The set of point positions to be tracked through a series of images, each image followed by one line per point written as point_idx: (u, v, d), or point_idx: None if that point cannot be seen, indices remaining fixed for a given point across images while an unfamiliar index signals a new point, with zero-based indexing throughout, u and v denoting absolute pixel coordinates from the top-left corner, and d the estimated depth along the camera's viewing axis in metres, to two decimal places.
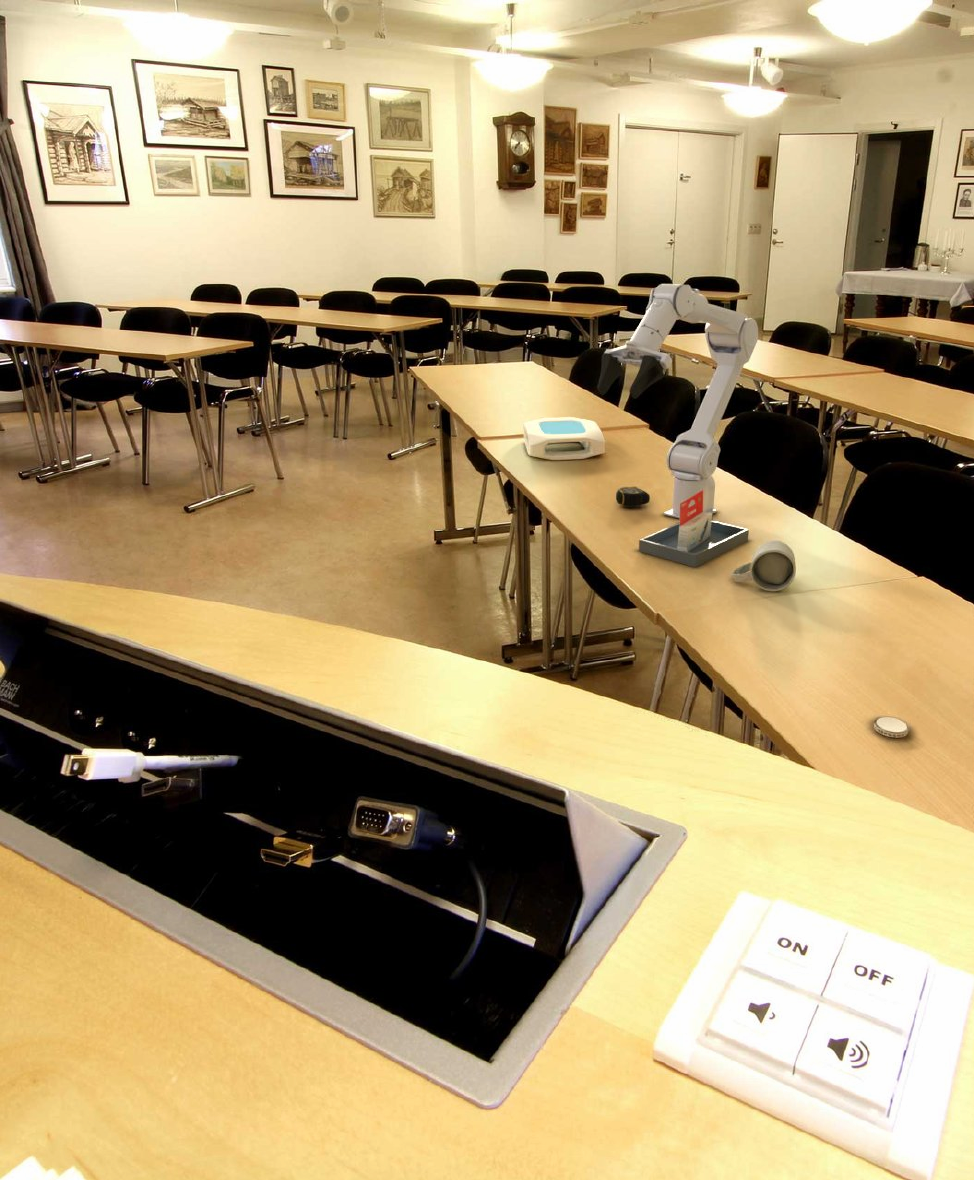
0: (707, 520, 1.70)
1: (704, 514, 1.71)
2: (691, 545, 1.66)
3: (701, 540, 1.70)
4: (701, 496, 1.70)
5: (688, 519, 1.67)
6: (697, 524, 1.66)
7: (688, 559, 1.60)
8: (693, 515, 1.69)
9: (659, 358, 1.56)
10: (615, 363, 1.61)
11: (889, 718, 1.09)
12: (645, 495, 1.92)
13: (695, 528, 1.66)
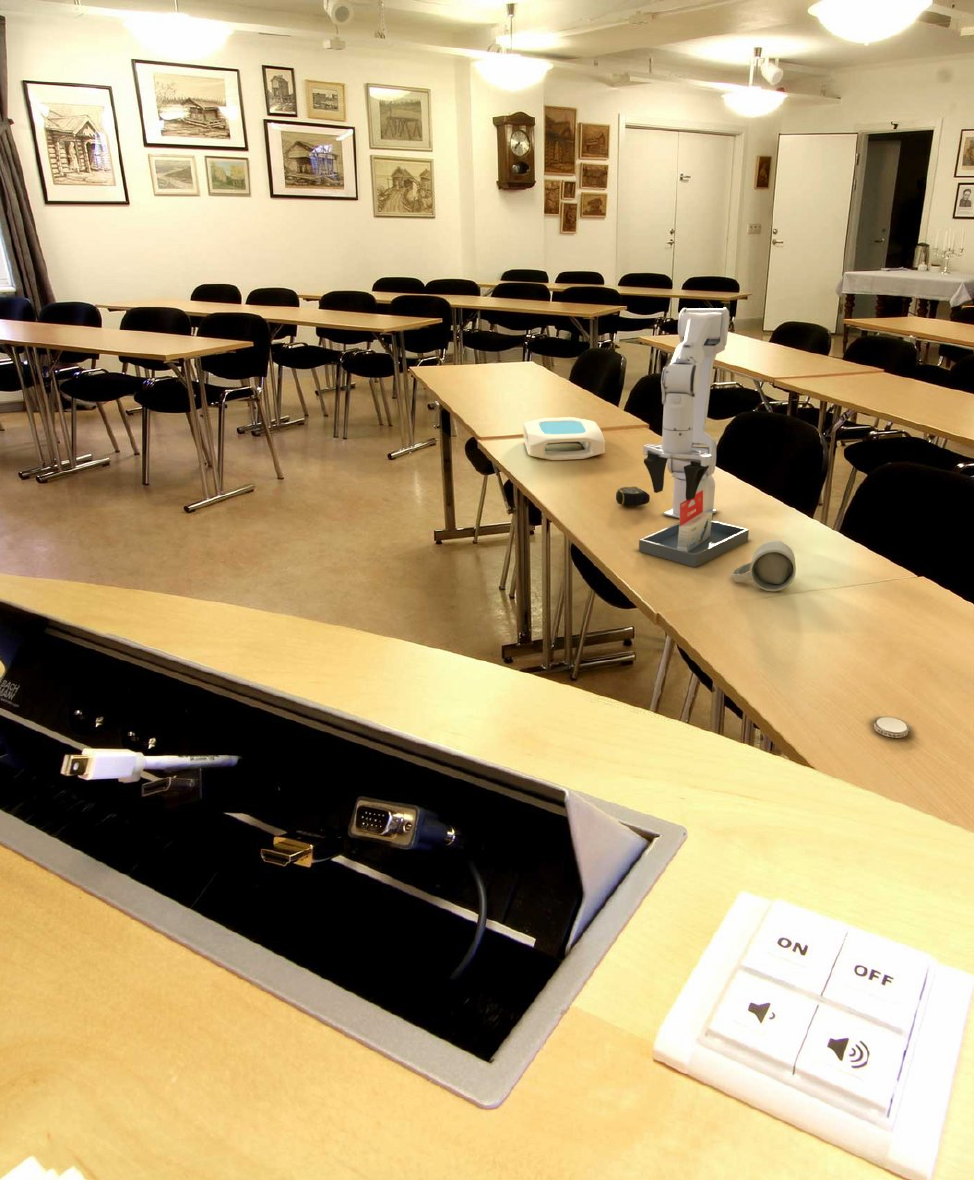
0: (707, 520, 1.70)
1: (704, 514, 1.71)
2: (691, 545, 1.66)
3: (701, 540, 1.70)
4: (701, 496, 1.70)
5: (688, 519, 1.67)
6: (697, 524, 1.66)
7: (688, 559, 1.60)
8: (693, 515, 1.69)
9: None
10: (658, 461, 1.67)
11: (889, 718, 1.09)
12: (645, 495, 1.92)
13: (695, 528, 1.66)
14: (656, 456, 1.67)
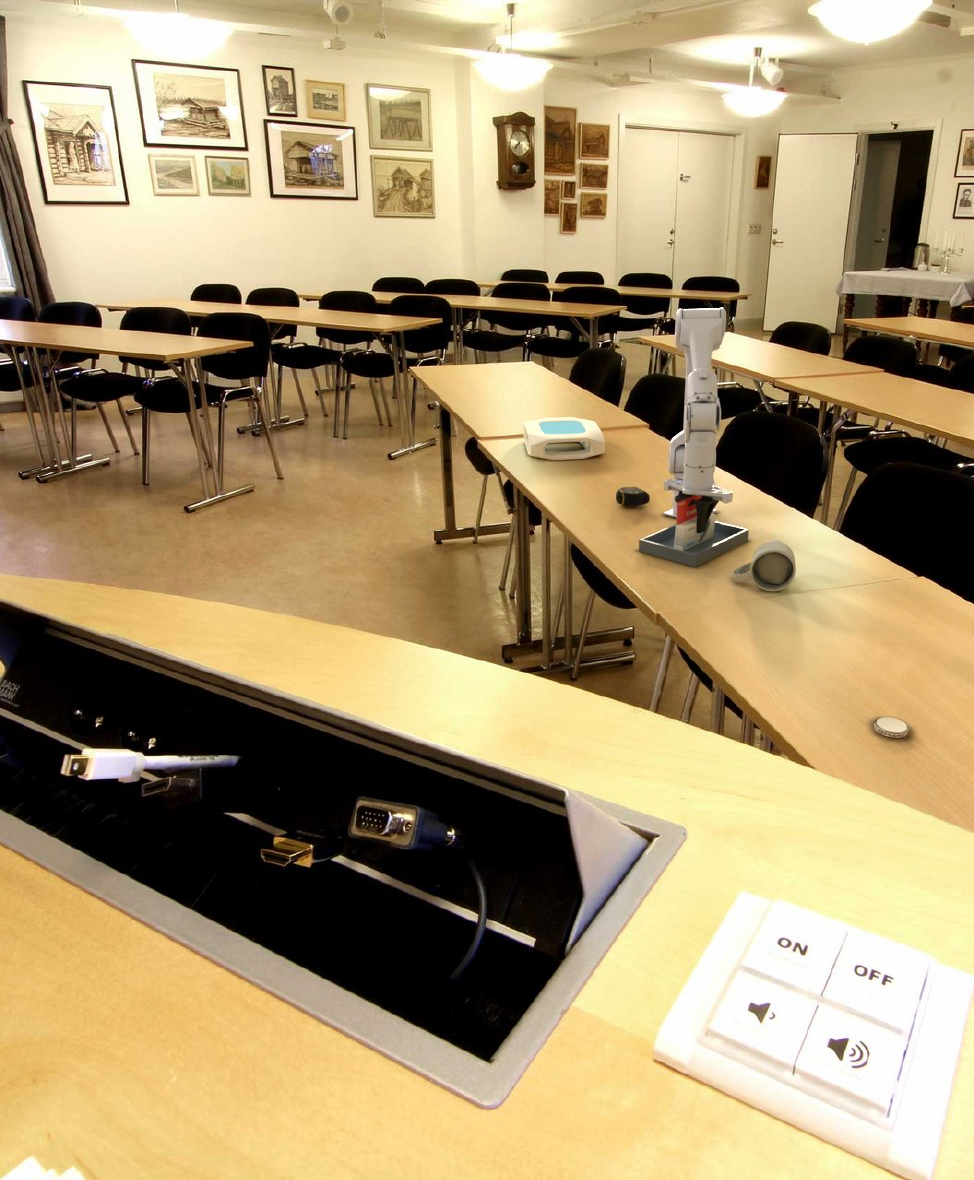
0: (708, 521, 1.69)
1: None
2: (688, 544, 1.67)
3: (701, 540, 1.70)
4: None
5: (687, 518, 1.67)
6: (695, 524, 1.66)
7: (688, 559, 1.60)
8: (694, 514, 1.69)
9: None
10: None
11: (889, 718, 1.09)
12: (645, 495, 1.92)
13: (692, 528, 1.66)
14: (687, 494, 1.66)
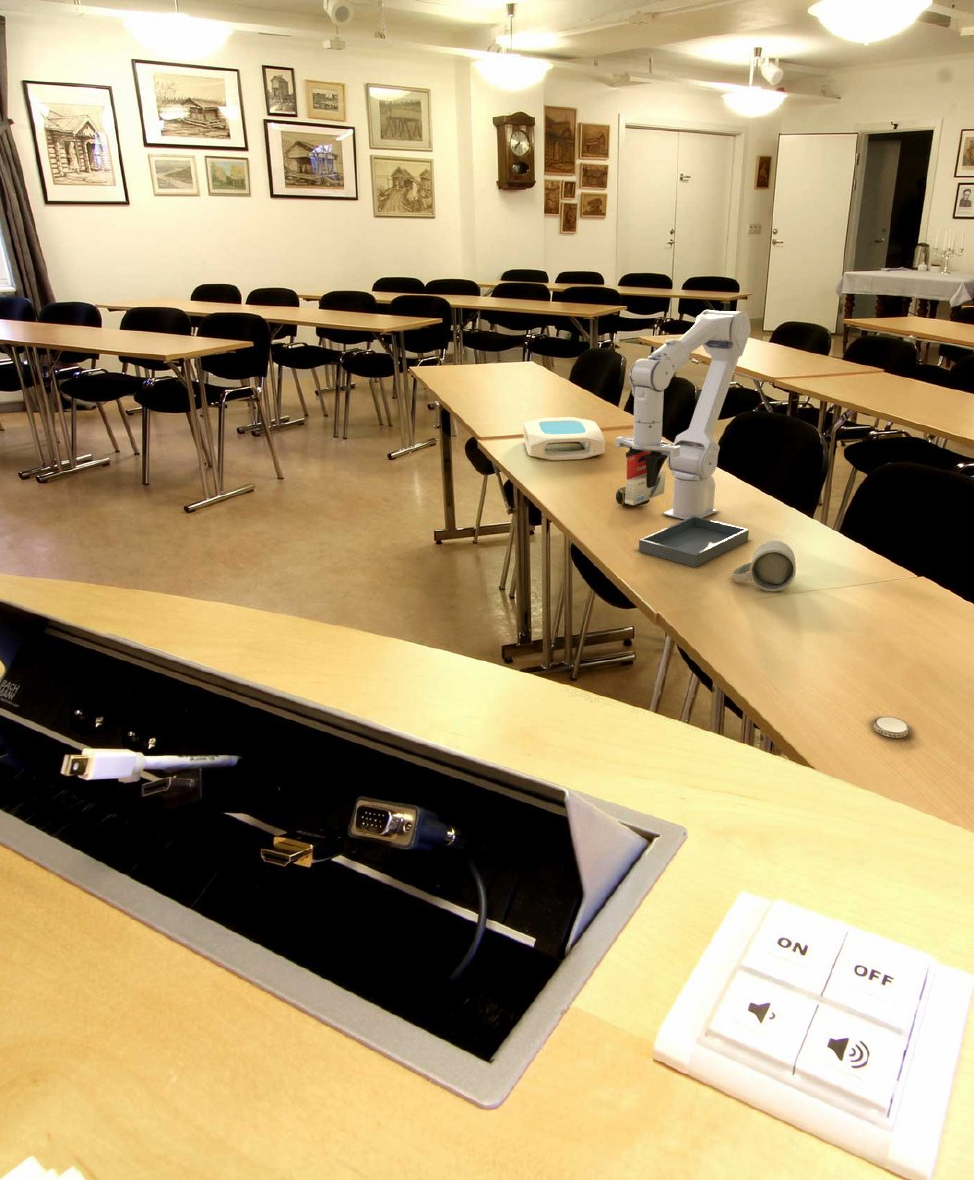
0: (658, 477, 1.75)
1: None
2: (638, 499, 1.72)
3: (652, 495, 1.75)
4: None
5: (638, 474, 1.73)
6: (645, 479, 1.72)
7: (688, 559, 1.60)
8: (644, 470, 1.74)
9: (667, 450, 1.67)
10: None
11: (889, 718, 1.09)
12: None
13: (642, 482, 1.71)
14: (637, 450, 1.72)
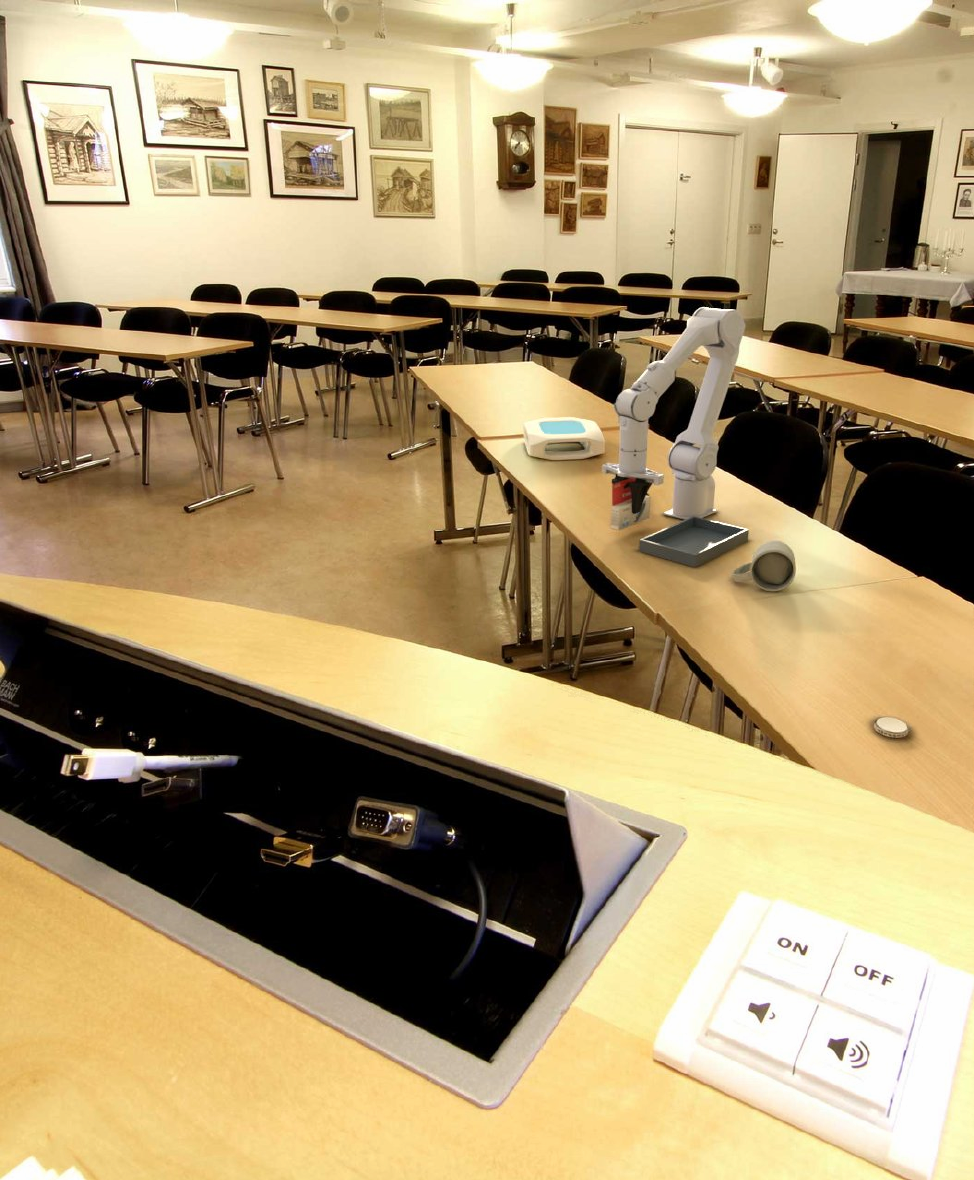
0: (644, 502, 1.80)
1: None
2: (624, 524, 1.77)
3: (637, 521, 1.80)
4: None
5: (623, 500, 1.78)
6: (630, 505, 1.77)
7: (688, 559, 1.60)
8: (630, 496, 1.79)
9: None
10: None
11: (889, 718, 1.09)
12: None
13: (627, 508, 1.76)
14: (623, 477, 1.77)
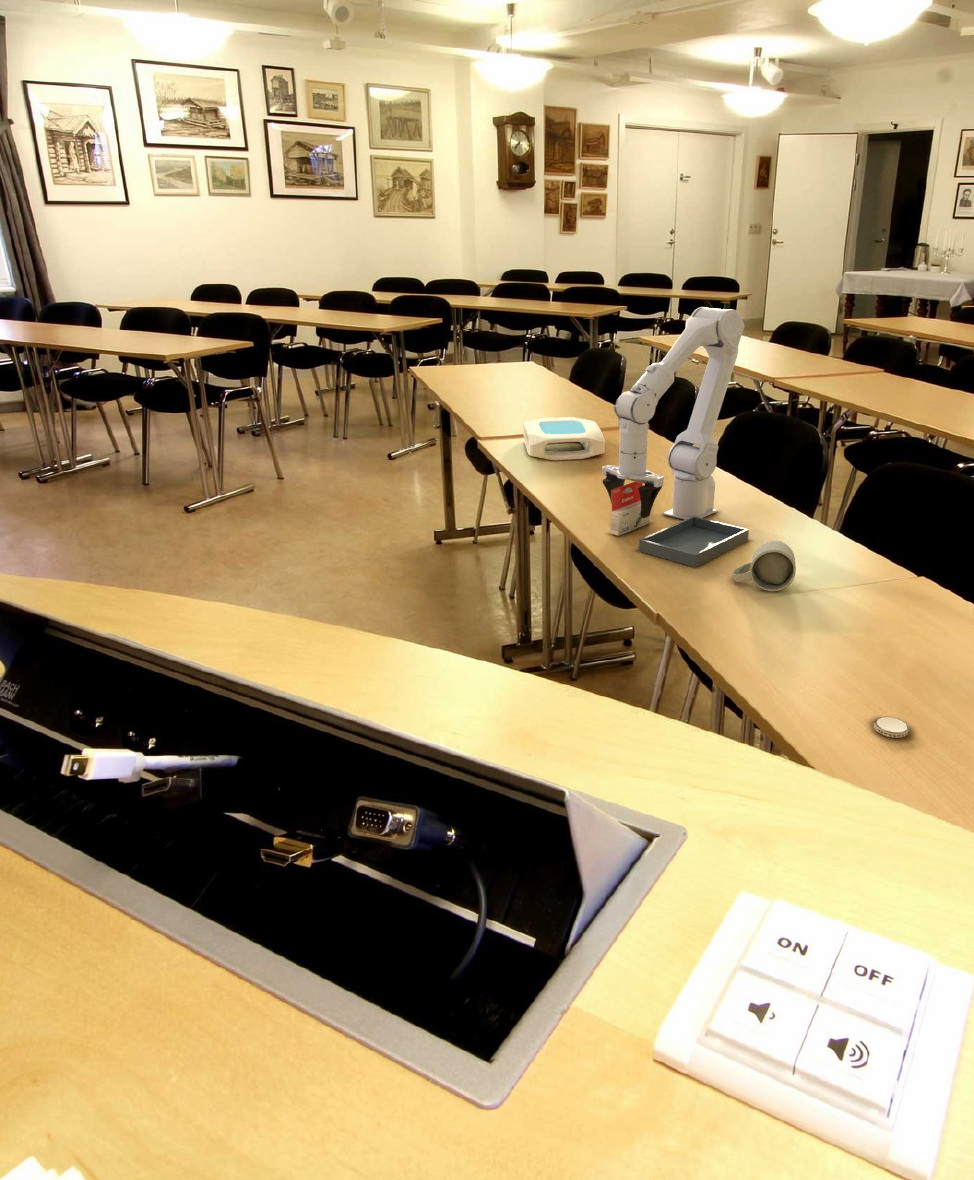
0: None
1: None
2: (623, 529, 1.77)
3: (637, 526, 1.81)
4: (640, 484, 1.81)
5: (623, 505, 1.78)
6: (630, 510, 1.77)
7: (688, 559, 1.60)
8: (629, 501, 1.80)
9: None
10: (616, 481, 1.79)
11: (889, 718, 1.09)
12: None
13: (627, 514, 1.77)
14: (614, 477, 1.79)
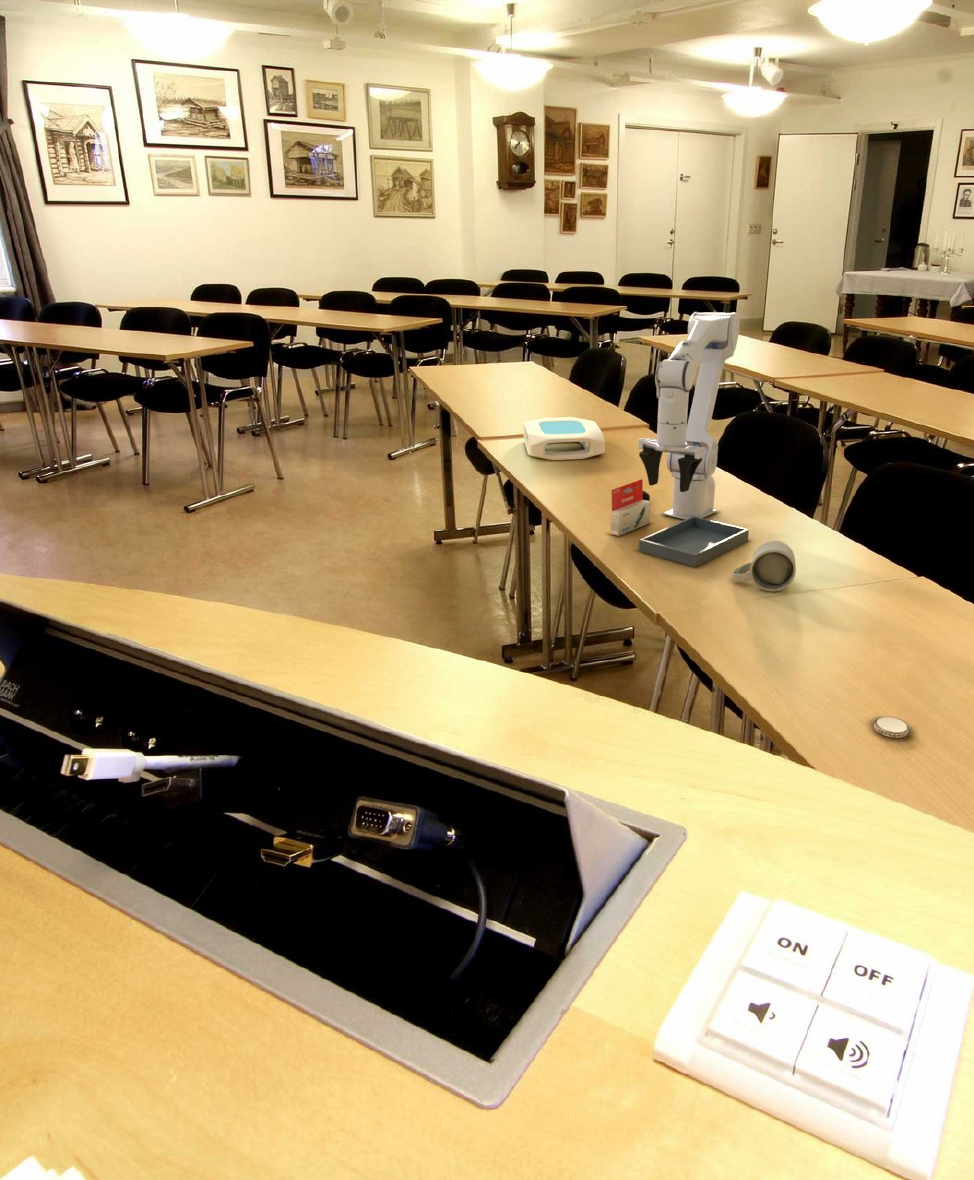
0: (643, 508, 1.80)
1: (642, 501, 1.81)
2: (623, 529, 1.77)
3: (637, 526, 1.81)
4: (640, 484, 1.81)
5: (623, 505, 1.78)
6: (630, 510, 1.77)
7: (688, 559, 1.60)
8: (629, 501, 1.80)
9: None
10: (653, 454, 1.72)
11: (889, 718, 1.09)
12: (645, 495, 1.93)
13: (627, 514, 1.77)
14: (651, 449, 1.72)
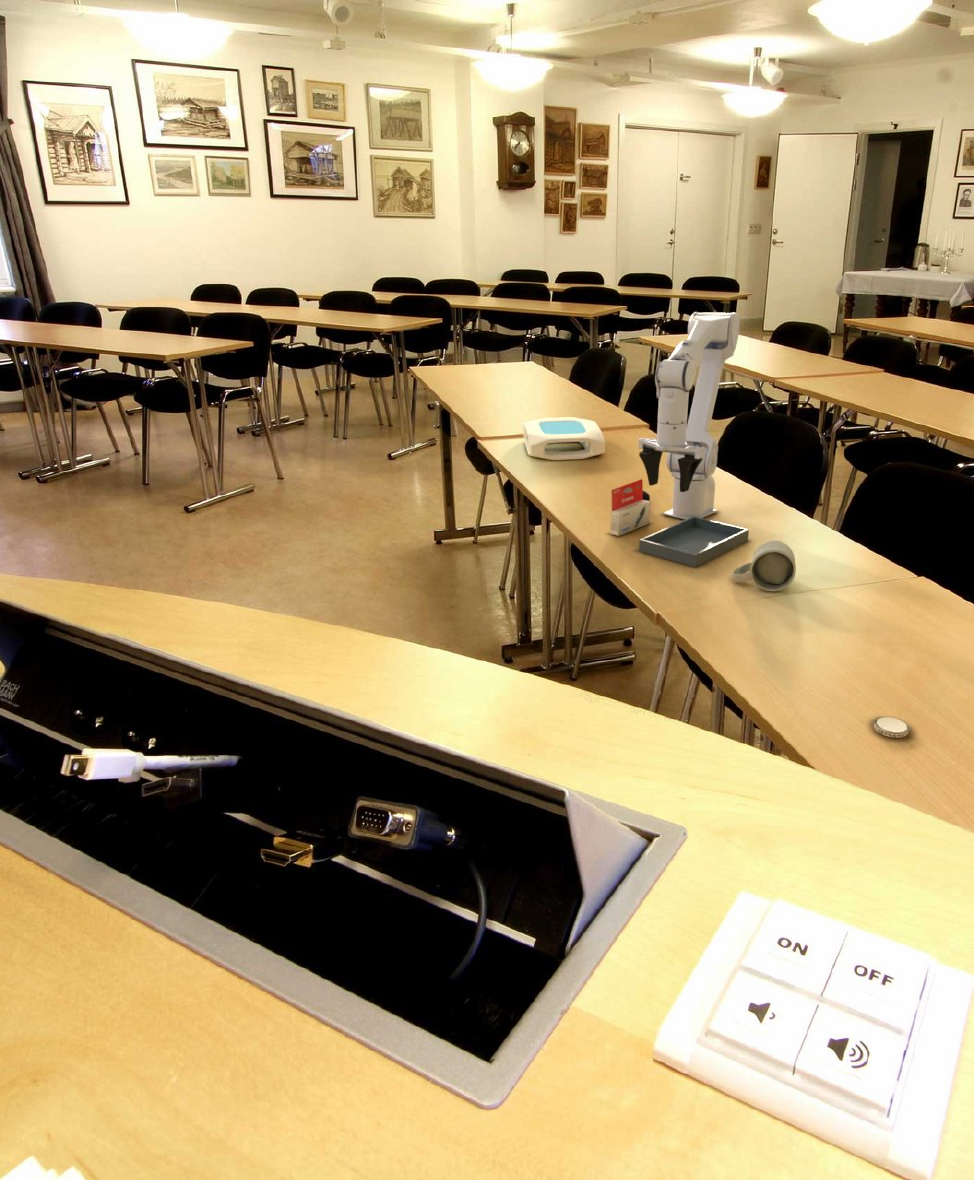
0: (643, 508, 1.80)
1: (642, 501, 1.81)
2: (623, 529, 1.77)
3: (637, 526, 1.81)
4: (640, 484, 1.81)
5: (623, 505, 1.78)
6: (630, 510, 1.77)
7: (688, 559, 1.60)
8: (629, 501, 1.80)
9: None
10: (653, 454, 1.72)
11: (889, 718, 1.09)
12: (645, 495, 1.93)
13: (627, 514, 1.77)
14: (651, 449, 1.72)
